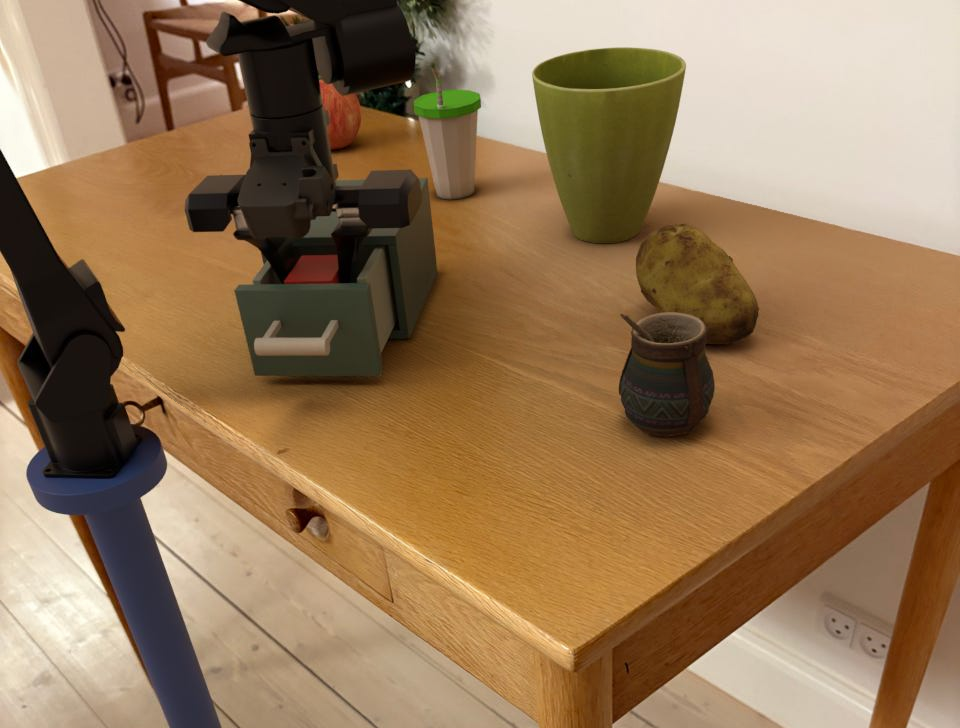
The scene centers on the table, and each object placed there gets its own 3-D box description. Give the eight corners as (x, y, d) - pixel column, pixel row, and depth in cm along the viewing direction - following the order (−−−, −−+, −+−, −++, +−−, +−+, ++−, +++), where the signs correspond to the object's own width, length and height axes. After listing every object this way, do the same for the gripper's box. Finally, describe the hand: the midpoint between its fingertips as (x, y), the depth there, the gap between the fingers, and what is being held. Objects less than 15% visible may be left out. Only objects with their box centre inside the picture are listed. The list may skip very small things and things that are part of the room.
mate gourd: (732, 425, 81) (744, 302, 74) (656, 459, 78) (662, 335, 72) (670, 391, 86) (676, 272, 79) (597, 421, 83) (597, 301, 76)
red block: (339, 325, 90) (331, 280, 87) (292, 326, 90) (283, 281, 88) (355, 298, 94) (347, 254, 91) (310, 298, 94) (301, 255, 92)
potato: (673, 366, 89) (678, 274, 84) (623, 306, 98) (625, 220, 93) (765, 349, 90) (775, 257, 85) (707, 291, 99) (713, 205, 94)
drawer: (367, 404, 86) (352, 315, 81) (236, 403, 88) (213, 316, 83) (411, 308, 100) (401, 225, 94) (297, 308, 102) (281, 228, 96)
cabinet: (409, 339, 97) (395, 235, 90) (279, 339, 99) (257, 238, 92) (437, 274, 107) (427, 177, 101) (320, 275, 110) (303, 181, 103)
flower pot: (705, 236, 109) (717, 67, 99) (582, 271, 105) (580, 98, 95) (629, 196, 120) (632, 39, 109) (514, 226, 115) (505, 66, 105)
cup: (455, 177, 129) (443, 41, 119) (501, 188, 125) (492, 48, 115) (409, 196, 125) (392, 57, 115) (455, 209, 121) (441, 65, 111)
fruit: (308, 138, 146) (294, 59, 139) (375, 135, 145) (364, 55, 138) (294, 159, 140) (278, 77, 133) (363, 155, 138) (351, 72, 132)
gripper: (133, 145, 77) (189, 343, 87) (379, 136, 73) (407, 343, 84) (187, 101, 85) (232, 287, 95) (411, 91, 82) (433, 285, 92)
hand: (322, 301), depth 91 cm, fingers closed on red block, 4 cm apart
